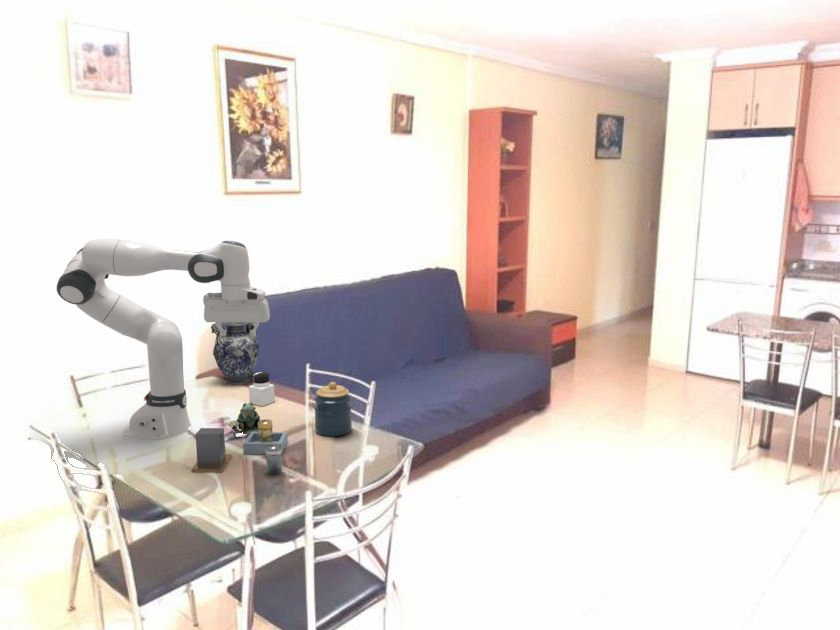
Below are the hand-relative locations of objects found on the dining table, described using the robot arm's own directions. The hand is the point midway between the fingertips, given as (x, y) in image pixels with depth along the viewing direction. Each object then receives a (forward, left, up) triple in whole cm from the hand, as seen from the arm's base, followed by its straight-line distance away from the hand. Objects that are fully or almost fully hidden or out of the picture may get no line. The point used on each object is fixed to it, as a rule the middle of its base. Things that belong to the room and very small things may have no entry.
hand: (238, 335), depth 202 cm
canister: (+28, +14, -37) cm, 49 cm away
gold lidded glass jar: (+8, -2, -36) cm, 37 cm away
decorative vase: (-21, +71, -37) cm, 83 cm away
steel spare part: (+14, -20, -37) cm, 45 cm away
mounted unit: (-6, -15, -37) cm, 40 cm away
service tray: (+8, -2, -37) cm, 38 cm away
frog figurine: (-2, +11, -38) cm, 39 cm away
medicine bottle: (-4, +44, -37) cm, 58 cm away
